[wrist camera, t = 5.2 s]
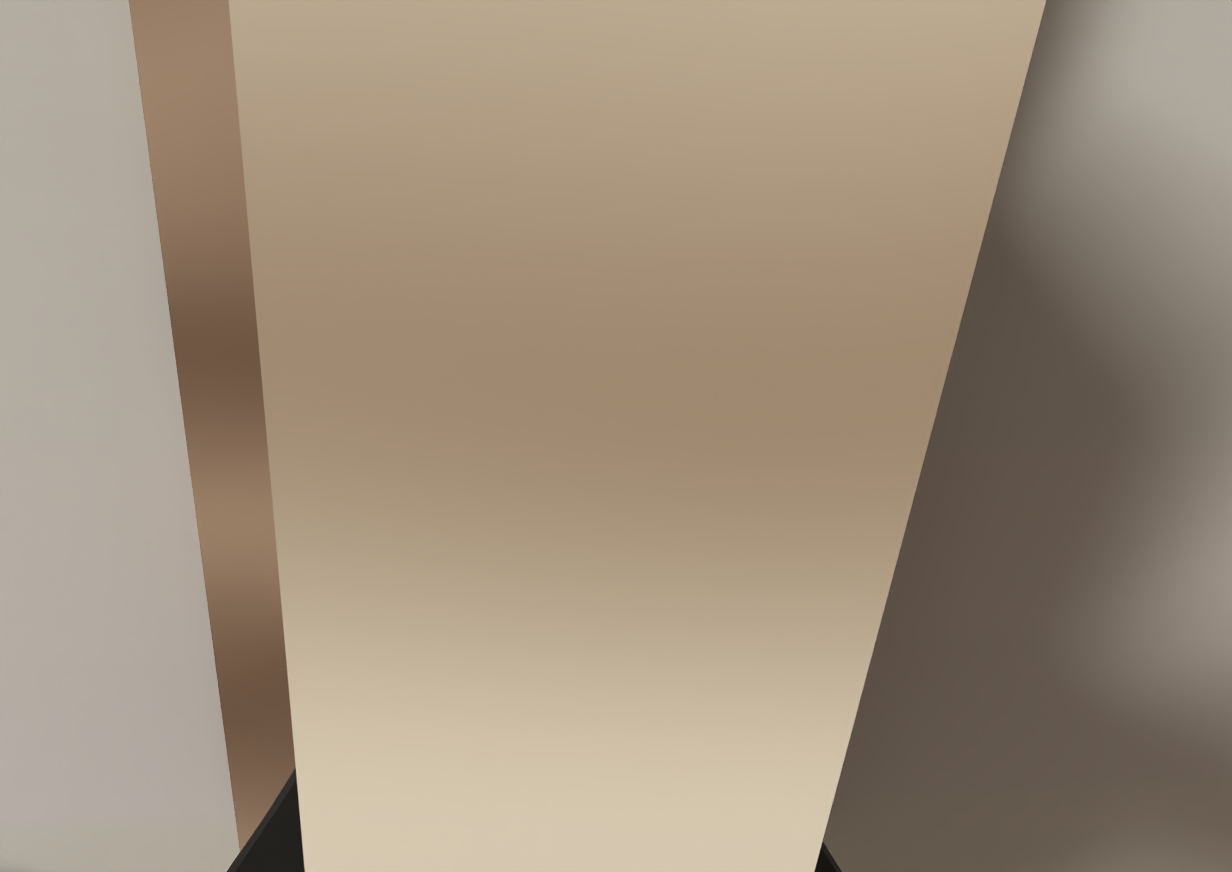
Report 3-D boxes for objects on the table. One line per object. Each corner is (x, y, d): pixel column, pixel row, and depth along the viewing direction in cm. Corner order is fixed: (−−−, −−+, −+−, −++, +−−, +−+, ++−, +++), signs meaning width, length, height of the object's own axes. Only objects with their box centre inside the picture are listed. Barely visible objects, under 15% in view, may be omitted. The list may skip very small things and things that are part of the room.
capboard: (782, 839, 23) (826, 1048, 19) (255, 826, 22) (188, 1043, 18) (1072, -387, 13) (1301, -479, 9) (97, -500, 12) (-138, -659, 8)
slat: (599, 1042, 16) (616, 1616, 11) (433, 1041, 16) (370, 1625, 11) (758, -159, 8) (1074, -114, 3) (435, -190, 8) (208, -203, 3)
